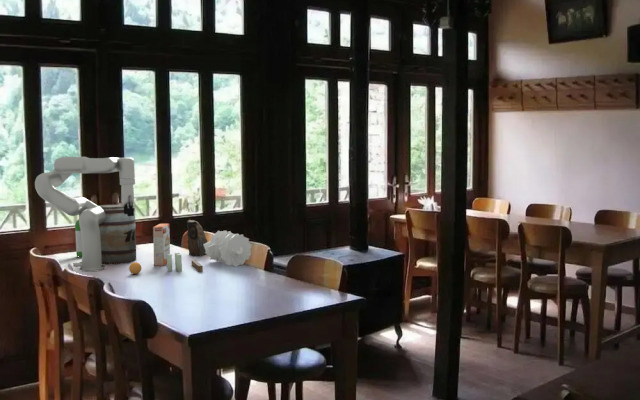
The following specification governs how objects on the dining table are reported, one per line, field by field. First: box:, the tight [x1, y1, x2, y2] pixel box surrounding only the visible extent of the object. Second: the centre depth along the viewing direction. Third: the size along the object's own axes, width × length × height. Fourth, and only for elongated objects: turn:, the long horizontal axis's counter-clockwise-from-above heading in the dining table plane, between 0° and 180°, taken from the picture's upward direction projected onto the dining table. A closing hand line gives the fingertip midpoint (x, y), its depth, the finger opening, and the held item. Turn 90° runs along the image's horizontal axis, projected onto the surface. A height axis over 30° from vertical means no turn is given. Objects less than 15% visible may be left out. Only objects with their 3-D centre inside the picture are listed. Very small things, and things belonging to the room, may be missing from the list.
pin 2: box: [176, 253, 183, 273], centre depth 350 cm, size 2×2×8 cm
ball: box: [128, 261, 142, 275], centre depth 344 cm, size 6×6×6 cm
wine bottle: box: [74, 215, 82, 258], centre depth 392 cm, size 8×8×30 cm
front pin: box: [166, 253, 173, 272], centre depth 351 cm, size 2×2×8 cm
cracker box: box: [152, 223, 171, 267], centre depth 370 cm, size 14×6×21 cm, turn 179°
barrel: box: [98, 204, 137, 265], centre depth 378 cm, size 22×22×30 cm
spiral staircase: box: [203, 230, 253, 267], centre depth 367 cm, size 18×18×25 cm
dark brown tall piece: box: [186, 219, 209, 258], centre depth 395 cm, size 13×13×20 cm
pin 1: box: [174, 252, 181, 271], centre depth 355 cm, size 2×2×8 cm
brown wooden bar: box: [190, 259, 204, 273], centre depth 356 cm, size 2×18×3 cm, turn 22°
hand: (128, 215), depth 354 cm, fingers open, 9 cm apart
